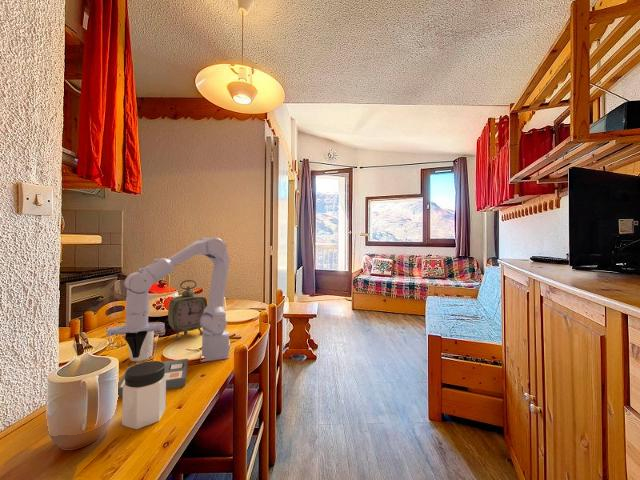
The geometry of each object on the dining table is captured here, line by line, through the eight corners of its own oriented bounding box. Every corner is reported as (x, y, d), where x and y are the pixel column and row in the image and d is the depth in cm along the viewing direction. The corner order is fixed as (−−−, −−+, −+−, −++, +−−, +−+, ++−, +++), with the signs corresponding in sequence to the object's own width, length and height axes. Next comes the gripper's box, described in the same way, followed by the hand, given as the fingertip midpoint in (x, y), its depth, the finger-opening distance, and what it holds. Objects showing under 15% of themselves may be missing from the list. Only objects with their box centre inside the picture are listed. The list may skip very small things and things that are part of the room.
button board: (187, 365, 93) (187, 357, 93) (184, 386, 80) (185, 377, 80) (128, 374, 86) (128, 365, 86) (114, 398, 74) (115, 388, 74)
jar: (113, 424, 63) (115, 372, 63) (145, 404, 71) (146, 358, 71) (142, 433, 61) (144, 379, 61) (172, 411, 69) (173, 363, 69)
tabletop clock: (172, 342, 114) (173, 282, 114) (166, 336, 120) (167, 280, 120) (207, 334, 124) (208, 279, 124) (199, 329, 130) (201, 277, 130)
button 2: (182, 370, 89) (182, 363, 89) (181, 374, 86) (181, 367, 86) (171, 371, 88) (171, 364, 88) (170, 376, 85) (170, 369, 85)
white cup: (141, 363, 94) (141, 334, 94) (122, 361, 96) (122, 332, 96) (158, 354, 102) (159, 327, 102) (141, 352, 104) (141, 325, 104)
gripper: (103, 317, 77) (102, 365, 77) (162, 313, 82) (161, 358, 82) (111, 311, 83) (110, 355, 83) (165, 307, 89) (164, 349, 89)
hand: (136, 356), depth 83 cm, fingers closed
